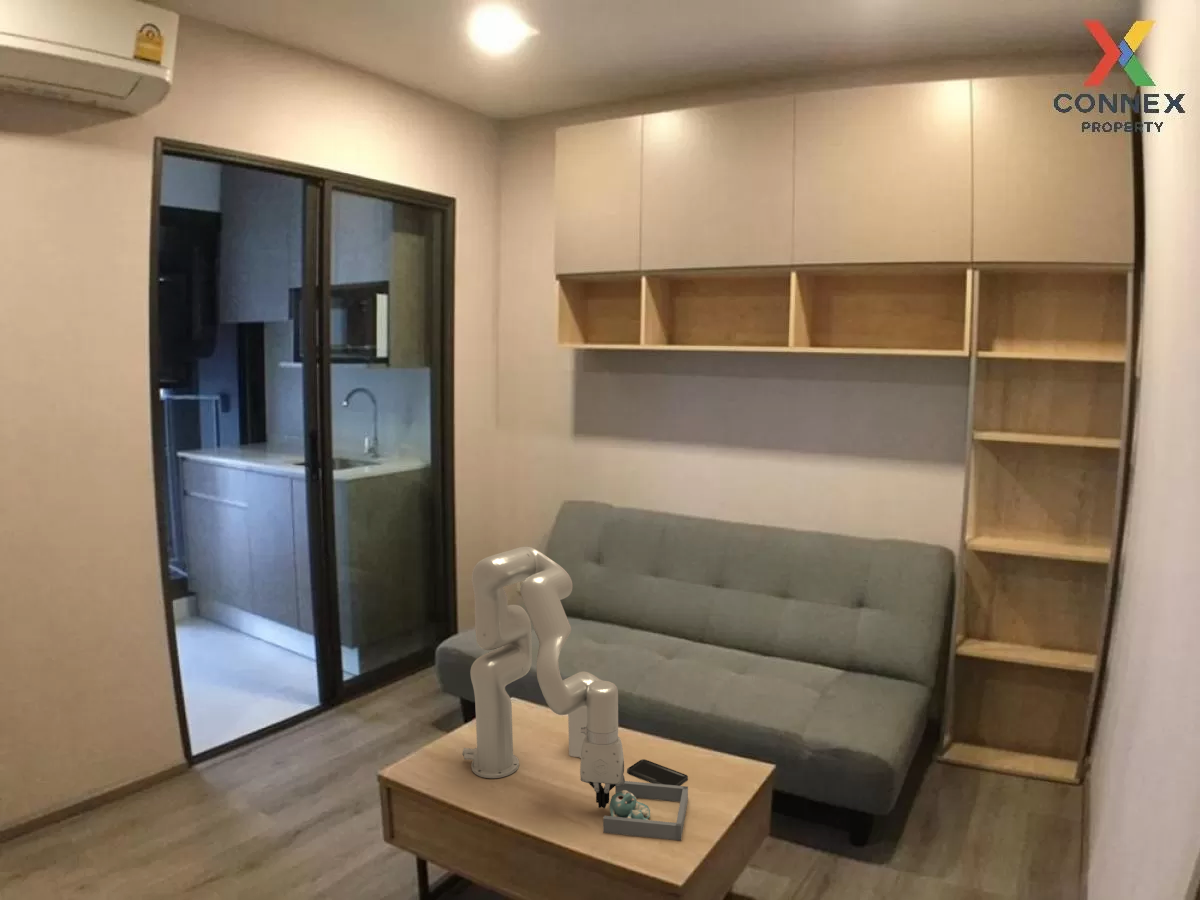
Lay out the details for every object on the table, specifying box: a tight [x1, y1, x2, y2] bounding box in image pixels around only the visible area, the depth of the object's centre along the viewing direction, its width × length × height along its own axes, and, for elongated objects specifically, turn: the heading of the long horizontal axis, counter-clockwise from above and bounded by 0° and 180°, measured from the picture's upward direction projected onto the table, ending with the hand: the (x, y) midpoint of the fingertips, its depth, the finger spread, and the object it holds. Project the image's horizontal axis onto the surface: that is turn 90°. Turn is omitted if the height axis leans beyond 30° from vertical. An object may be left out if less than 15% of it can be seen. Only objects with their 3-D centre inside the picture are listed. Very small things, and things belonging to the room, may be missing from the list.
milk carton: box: [567, 705, 587, 759], centre depth 237 cm, size 7×7×19 cm
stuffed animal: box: [608, 790, 651, 820], centre depth 204 cm, size 11×7×12 cm
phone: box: [626, 758, 689, 786], centre depth 225 cm, size 8×1×15 cm
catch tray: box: [602, 780, 689, 842], centre depth 206 cm, size 18×17×4 cm
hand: (602, 805), depth 209 cm, fingers closed
